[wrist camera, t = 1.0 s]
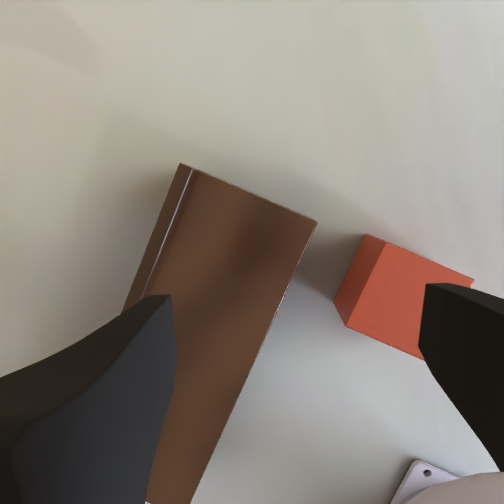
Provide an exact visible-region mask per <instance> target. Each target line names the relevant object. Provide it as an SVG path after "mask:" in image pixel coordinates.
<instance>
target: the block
mask: <svg viewBox="0 0 504 504" xmlns="http://www.w3.org/2000/svg"><path fill="white" fill-rule="evenodd" d="M473 282H474V279H472V278H470V277H467V276H465V275H463V274H460V273H458V272H456V271H453V270H451V269H449V268H447V267H444V266H442V265H440V264H437V263H435V262H433V261H430V260H428V259H426V258H423V257H421V256H419V255H417V254H414V253H412V252H410V251H407V250H405V249H403V248H400V247H398V246H396V245H393V244H391V243H389V242H386V241H384V240H381V239H379V238H376V237H374V236H371V235H369V234H365V236H364V238H363V240H362V242H361V245H360V247H359V249H358V251H357V253H356V255H355V257H354V259H353V261H352V263H351V266H350V268H349V270H348V272H347V274H346V276H345V278H344V280H343V282H342V284H341V287H340V289H339V291H338V293H337V295H336V297H335V299H334V301H333V303H334V305H335V307H336V309H337V311H338V313H339V315H340V317H341V319H342V321H343V323H344V325H345V326H346V327H348V328H351V329H353V330H355V331H358V332H360V333H362V334H364V335H367V336H369V337H371V338H374V339H376V340H378V341H380V342H383V343H385V344H387V345H390V346H392V347H394V348H396V349H399V350H401V351H403V352H406V353H408V354H410V355H412V356H415V357H417V358H419V359H422V360H424V358H423V356H422V354H421V352H420V350H419V348H418V340H419V332H420V324H421V317H422V309H423V301H424V293H425V285H426V283H452V284H457V285H461V286H465V287H468V288H470V287H471V285H472V284H473ZM424 361H425V360H424Z"/></svg>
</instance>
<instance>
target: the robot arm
mask: <svg viewBox="0 0 504 504" xmlns="http://www.w3.org/2000/svg"><path fill="white" fill-rule="evenodd" d="M418 348H419V350H420V352H421V354H422V356H423V358H424V360H425V362H426V364H427V366H428V367H429V369H430V371H431V373H432V375H433V376H434V378H435V379H436V381H437V382H438V383H439V385H440V386H441V388H442V389H443V390H444V392H445V393H446V395H447V396H448V397H449V399H450V400H451V401H452V403H453V404H454V405H455V407H456V408H457V410H458V411H459V412H460V414H461V415H462V416H463V418H464V419H465V420H466V422H467V423H468V424H469V426H470V427H471V429H472V430H473V431H474V433H475V434H476V435H477V437H478V438H479V439H480V441H481V442H482V444H483V445H484V447H485V448H486V450H487V451H488V452H489V454H490V455H491V457H492V458H493V460H494V462H495V463H496V465H497V467H498V469H499V470H500V472H493V473H479V474H475V475H471V476H467V477H463V478H460V477H458V476H455V475H453V474H451V473H449V472H446V471H444V470H442V469H439V468H437V467H435V466H433V465H430V464H428V463H426V462H424V461H421V460H416V461H414V462H413V463H412V464H411V466H410V468H409V470H408V472H407V474H406V475H405V477H404V479H403V481H402V483H401V485H400V486H399V488H398V490H397V492H396V494H395V496H394V497H393V499H392V501H391V503H390V504H504V299H502V298H499V297H496V296H493V295H490V294H487V293H484V292H481V291H478V290H475V289H471V288H468V287H465V286H461V285H457V284H452V283H426V285H425V293H424V301H423V309H422V317H421V324H420V332H419V340H418ZM177 359H178V355H177V346H176V336H175V326H174V316H173V306H172V297H171V294H165V295H149V296H147V297H145V298H143V299H142V300H140V301H139V302H137V303H136V304H134V305H133V306H132V307H130V308H129V309H127V310H126V311H124V312H123V313H122V314H120V315H119V316H117V317H116V318H114V319H113V320H112V321H110V322H109V323H107V324H106V325H104V326H102V327H101V328H99V329H98V330H96V331H94V332H93V333H91V334H90V335H88V336H86V337H85V338H83V339H82V340H80V341H78V342H76V343H75V344H73V345H71V346H69V347H67V348H66V349H64V350H62V351H60V352H58V353H56V354H54V355H52V356H50V357H48V358H46V359H43V360H41V361H39V362H37V363H34V364H32V365H30V366H27V367H25V368H22V369H20V370H17V371H15V372H13V373H10V374H8V375H5V376H3V377H0V504H145V500H146V494H147V488H148V482H149V477H150V473H151V469H152V464H153V460H154V456H155V453H156V449H157V446H158V442H159V439H160V435H161V432H162V428H163V425H164V421H165V418H166V414H167V410H168V407H169V403H170V400H171V396H172V392H173V388H174V382H175V375H176V367H177ZM425 470H429V471H428V472H427V473H423V472H424V471H425Z"/></svg>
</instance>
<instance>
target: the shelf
mask: <svg viewBox="0 0 504 504" xmlns="http://www.w3.org/2000/svg"><path fill="white" fill-rule="evenodd" d="M316 225H317V222H316V221H315V220H313V219H312V218H309V217H307V216H305V215H302V214H300V213H298V212H296V211H293V210H291V209H289V208H286V207H284V206H282V205H279V204H277V203H275V202H272V201H270V200H268V199H266V198H263V197H261V196H259V195H256V194H254V193H252V192H249V191H247V190H245V189H242V188H240V187H238V186H235V185H233V184H231V183H229V182H226V181H224V180H222V179H219V178H217V177H215V176H212V175H210V174H208V173H205V172H203V171H201V170H198V169H196V168H193V167H190V166H188V165H185V164H182V163H180V164H179V166H178V168H177V171H176V174H175V176H174V179H173V181H172V184H171V186H170V189H169V192H168V194H167V197H166V199H165V202H164V204H163V207H162V210H161V212H160V215H159V217H158V220H157V222H156V225H155V227H154V230H153V233H152V235H151V238H150V240H149V243H148V245H147V248H146V251H145V253H144V256H143V258H142V261H141V263H140V266H139V269H138V271H137V274H136V276H135V279H134V281H133V284H132V287H131V289H130V292H129V294H128V297H127V299H126V302H125V305H124V307H123V310H122V312H121V314H122V313H123V312H124V311H126V310H127V309H129V308H130V307H132V306H133V305H134V304H136V303H137V302H139V301H140V300H142V299H143V298H145V297H147V296H149V295H165V294H171V297H172V306H173V316H174V326H175V336H176V346H177V355H178V359H177V367H176V375H175V382H174V388H173V392H172V396H171V400H170V403H169V407H168V410H167V414H166V418H165V421H164V425H163V428H162V432H161V435H160V439H159V442H158V446H157V449H156V453H155V456H154V460H153V464H152V469H151V473H150V477H149V482H148V488H147V494H146V500H145V501H147V502H149V503H151V504H190V502H191V500H192V498H193V496H194V494H195V491H196V489H197V487H198V485H199V483H200V480H201V478H202V476H203V474H204V472H205V469H206V467H207V465H208V463H209V461H210V458H211V456H212V454H213V452H214V450H215V447H216V445H217V443H218V441H219V439H220V436H221V434H222V432H223V430H224V428H225V425H226V423H227V421H228V419H229V417H230V414H231V412H232V410H233V408H234V406H235V403H236V401H237V399H238V397H239V395H240V392H241V390H242V388H243V386H244V384H245V381H246V379H247V377H248V375H249V373H250V370H251V368H252V366H253V364H254V362H255V359H256V357H257V355H258V353H259V351H260V348H261V346H262V344H263V342H264V340H265V337H266V335H267V333H268V331H269V329H270V326H271V324H272V322H273V320H274V318H275V315H276V313H277V311H278V309H279V307H280V304H281V302H282V300H283V298H284V296H285V293H286V291H287V289H288V287H289V285H290V282H291V280H292V278H293V276H294V273H295V271H296V269H297V267H298V265H299V262H300V260H301V258H302V256H303V254H304V251H305V249H306V247H307V245H308V243H309V240H310V238H311V236H312V234H313V232H314V229H315V227H316Z"/></svg>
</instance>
